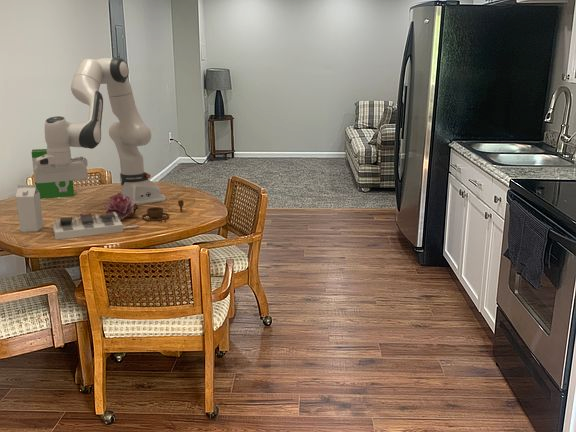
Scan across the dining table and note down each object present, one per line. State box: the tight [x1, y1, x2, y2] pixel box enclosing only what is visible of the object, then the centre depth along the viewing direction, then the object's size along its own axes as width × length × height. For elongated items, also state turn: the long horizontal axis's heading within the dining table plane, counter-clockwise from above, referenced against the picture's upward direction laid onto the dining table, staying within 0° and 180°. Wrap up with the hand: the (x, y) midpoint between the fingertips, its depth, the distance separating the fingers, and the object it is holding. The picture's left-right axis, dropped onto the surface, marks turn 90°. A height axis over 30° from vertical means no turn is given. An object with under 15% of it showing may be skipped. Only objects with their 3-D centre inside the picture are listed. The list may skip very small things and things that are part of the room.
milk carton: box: [15, 184, 44, 233], centre depth 233 cm, size 7×7×19 cm
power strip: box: [52, 212, 139, 240], centre depth 235 cm, size 32×13×6 cm, turn 115°
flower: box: [103, 193, 139, 221], centre depth 253 cm, size 15×15×10 cm
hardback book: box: [30, 148, 75, 200], centre depth 288 cm, size 18×7×24 cm, turn 111°
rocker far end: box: [59, 216, 73, 224], centre depth 231 cm, size 4×7×2 cm, turn 25°
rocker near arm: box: [99, 213, 113, 219], centre depth 238 cm, size 4×7×2 cm, turn 25°
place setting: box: [141, 199, 185, 224], centre depth 254 cm, size 18×20×6 cm
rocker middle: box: [79, 212, 94, 224], centre depth 234 cm, size 4×7×2 cm, turn 25°
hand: (63, 191), depth 230 cm, fingers closed
